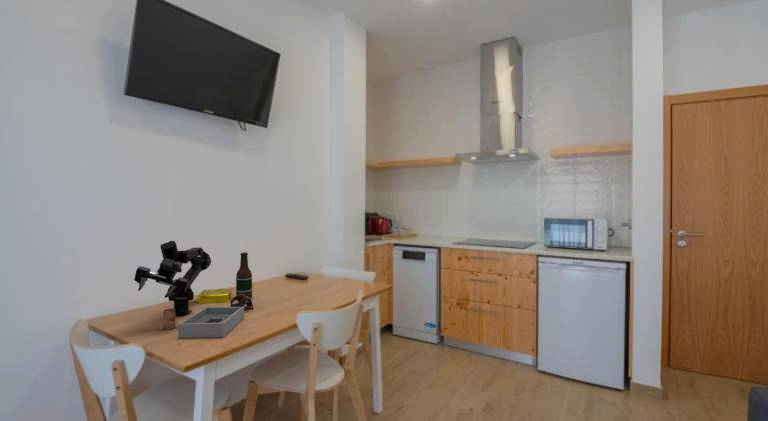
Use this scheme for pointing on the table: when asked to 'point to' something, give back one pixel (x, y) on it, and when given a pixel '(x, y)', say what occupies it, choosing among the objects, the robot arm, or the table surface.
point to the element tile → (215, 295)
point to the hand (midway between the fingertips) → (152, 293)
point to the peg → (169, 319)
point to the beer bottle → (244, 277)
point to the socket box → (211, 322)
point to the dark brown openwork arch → (241, 301)
